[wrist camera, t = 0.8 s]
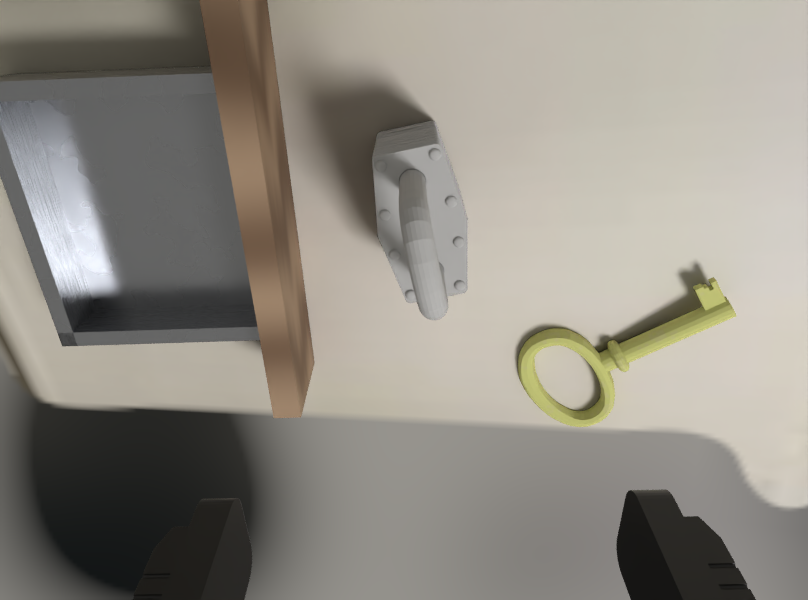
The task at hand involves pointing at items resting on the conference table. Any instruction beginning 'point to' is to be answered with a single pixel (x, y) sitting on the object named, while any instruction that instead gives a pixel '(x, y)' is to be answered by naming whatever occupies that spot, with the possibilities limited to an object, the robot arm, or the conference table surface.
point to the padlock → (420, 216)
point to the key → (616, 354)
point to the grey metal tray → (127, 204)
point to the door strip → (262, 191)
